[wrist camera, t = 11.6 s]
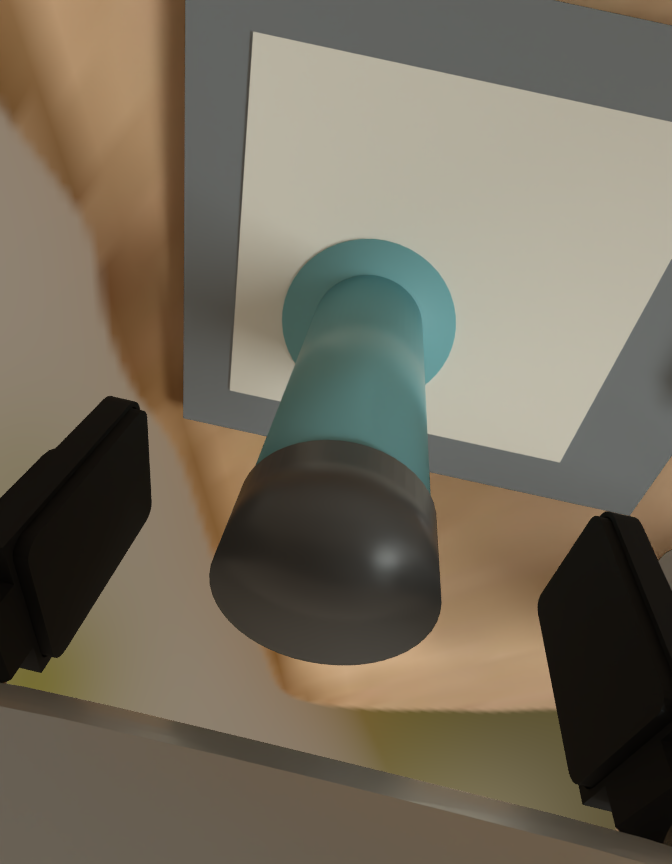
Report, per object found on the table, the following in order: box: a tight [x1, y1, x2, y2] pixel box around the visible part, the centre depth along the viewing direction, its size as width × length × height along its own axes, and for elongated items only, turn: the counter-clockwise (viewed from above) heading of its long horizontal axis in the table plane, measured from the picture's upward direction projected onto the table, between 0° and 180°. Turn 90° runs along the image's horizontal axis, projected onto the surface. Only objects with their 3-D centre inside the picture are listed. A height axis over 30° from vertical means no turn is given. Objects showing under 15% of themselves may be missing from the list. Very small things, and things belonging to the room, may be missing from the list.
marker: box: [209, 275, 441, 665], centre depth 14 cm, size 4×4×12 cm
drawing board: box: [183, 0, 672, 516], centre depth 19 cm, size 20×16×1 cm
